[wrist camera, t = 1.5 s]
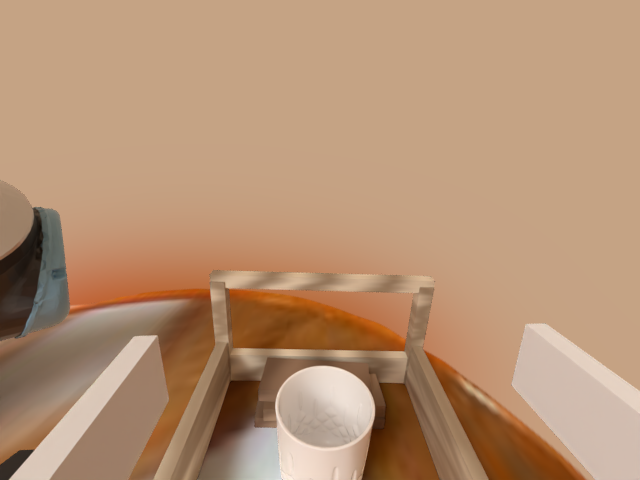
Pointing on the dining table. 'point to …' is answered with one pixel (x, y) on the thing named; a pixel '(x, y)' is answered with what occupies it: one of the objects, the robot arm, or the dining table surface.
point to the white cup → (323, 425)
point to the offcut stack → (284, 368)
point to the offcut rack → (389, 366)
